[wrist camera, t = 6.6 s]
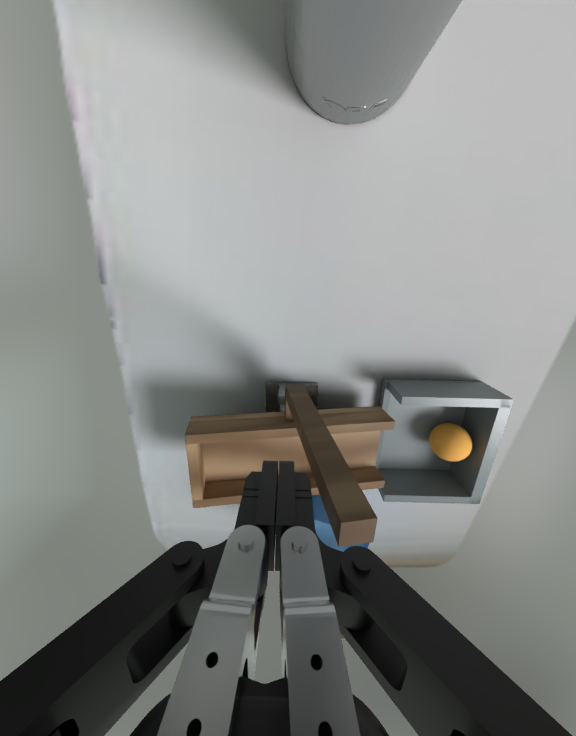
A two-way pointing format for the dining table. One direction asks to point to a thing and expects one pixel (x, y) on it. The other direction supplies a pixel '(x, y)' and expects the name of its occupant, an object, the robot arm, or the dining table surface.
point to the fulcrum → (277, 395)
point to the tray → (412, 448)
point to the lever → (294, 457)
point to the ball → (450, 442)
